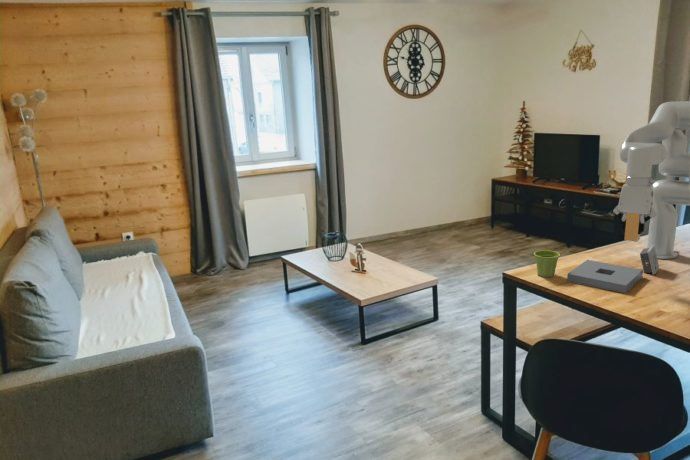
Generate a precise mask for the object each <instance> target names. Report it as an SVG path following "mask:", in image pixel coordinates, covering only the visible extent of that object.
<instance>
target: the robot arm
mask: <svg viewBox="0 0 690 460" xmlns="http://www.w3.org/2000/svg"><path fill="white" fill-rule="evenodd" d="M683 131H690V100H689V101H688V100H687V101H667V102H666V101H665V102H662V103H661V104H659V105H658V107H657V108H656V110H655V112H654V114H653V115H652V117H651V119H650V121H649V122H648V124H645V125H643V126H640V127H639V128H637V129H635V130H632V132H630V133H629V134H628V135H627V136H626V137H625V139H624V141H623V143H622V144H621V147H620V149H619V158H620V161H621V162H622V163H624V164H626V172H625V181H624V182H625V183H624V184H622V186H621V187H622V188H621V189H620V190H621V191H620V195H619V199H618V204H617V205H616V206H615V207H614V209H612V212H613V214H615V215H617V217H619V218H620V220H621V221H622V225H621V226H622V227H621V230H623V233H625V228H626V217H627V213H633V214H640V223H639V229H638V234H640V235H641V234H642V233H644V232H645V225H646V224H645V223H646V222H648V221H649V226H648V227H649V228H648V235H647V244H646V248H650V247H651V246H654V247H655V251H656V255H657V259H661V260H662V259H663V260H669V259H671V260H673V259H675V258H677V257H678V252H676V250H674V249H675V242H676V233H677V223H678V218H679V217H678V216H679V215H678V212H677V209H676V208H675V207H674V205H679V206H689V207H690V152H687V146H688V138H687V137H686V135H685V134H684V132H683ZM659 142H662V143H659ZM654 165H655V166H656V165H658V173H659V174H660V175H662V176H664V177H670V178H671V177H672V178H673V177H674V178H684V179H685V178H687V179H689V180H688V181H687V180H676V179H659V180H656V179H653V178H652V169H653V167H652V166H654ZM646 248H644V249H646Z"/></svg>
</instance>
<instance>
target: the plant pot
mask: <svg viewBox="0 0 690 460" xmlns="http://www.w3.org/2000/svg"><path fill="white" fill-rule="evenodd" d="M533 255H534V259H535V262H536V272H537V276H540V277H541V278H551V277H555V273H556V268H557V263H558V261H559V258H560V256H561V253H559V252H558V251H554V250H548V249H546V250H545V249H543V250H542V249H541V250H536V251H534V252H533Z"/></svg>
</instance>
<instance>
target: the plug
mask: <svg viewBox="0 0 690 460" xmlns="http://www.w3.org/2000/svg"><path fill="white" fill-rule="evenodd" d="M639 223H640V214H633V213H627V217H626V228H625V232H624V241H627V242H628V241H629V242H635V243H637V242H639V241H640V239H641V234H638V229H639Z"/></svg>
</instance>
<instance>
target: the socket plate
mask: <svg viewBox="0 0 690 460" xmlns="http://www.w3.org/2000/svg"><path fill="white" fill-rule="evenodd" d="M643 274H644V270H643V268H642V269H641V268H634V267H631V266H624V265H620V264H619V265H618V264H612V263H608V262H601V261H595V260H590V259H586V260H585V261H583V262H582V263H580V264H579V265H578V266H576V267H575V268H574V269H572V270H571V271H569V272H568V273H567V279H566V282H568V283H573V284H578V285H582V286H588V287H592V288H597V289H600V290H601V289H603V290H608V291H610V292H611V291H612V292H617V293H621V294H627V292H629V291H630V290H631V288H632V287H633V286H635V285H636V284H637V283H638V282H639V281H640V280H641V279H642V278H643Z"/></svg>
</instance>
